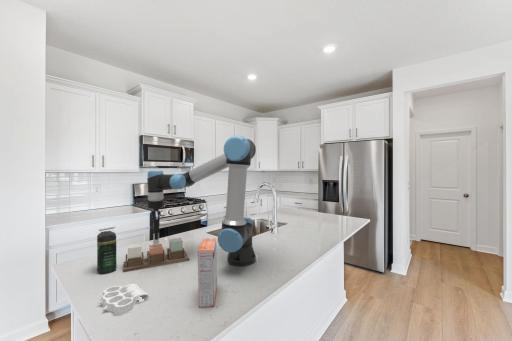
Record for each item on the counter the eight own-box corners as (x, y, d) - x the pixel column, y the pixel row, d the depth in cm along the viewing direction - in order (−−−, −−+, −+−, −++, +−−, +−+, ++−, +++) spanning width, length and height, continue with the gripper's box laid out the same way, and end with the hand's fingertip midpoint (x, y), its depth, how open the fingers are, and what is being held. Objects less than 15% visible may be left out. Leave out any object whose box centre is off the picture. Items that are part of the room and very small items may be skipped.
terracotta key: (162, 258, 124) (162, 247, 124) (150, 260, 122) (150, 248, 121) (161, 254, 130) (161, 243, 130) (149, 256, 127) (149, 245, 127)
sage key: (182, 251, 129) (182, 240, 129) (170, 253, 126) (170, 242, 126) (180, 248, 134) (180, 237, 134) (169, 250, 131) (169, 239, 131)
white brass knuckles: (152, 303, 89) (107, 322, 79) (133, 286, 102) (92, 301, 91) (152, 294, 89) (107, 312, 78) (133, 279, 101) (92, 292, 91)
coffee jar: (118, 271, 116) (117, 232, 115) (98, 275, 111) (97, 235, 110) (114, 264, 123) (114, 228, 123) (96, 268, 118) (95, 231, 118)
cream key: (141, 258, 120) (141, 246, 120) (127, 260, 117) (127, 248, 117) (141, 254, 125) (140, 243, 125) (128, 256, 122) (127, 244, 122)
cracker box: (202, 288, 100) (202, 238, 99) (217, 287, 100) (217, 237, 100) (197, 308, 86) (197, 250, 85) (214, 307, 86) (214, 249, 86)
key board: (189, 260, 129) (189, 250, 128) (123, 272, 114) (122, 260, 114) (185, 254, 137) (185, 244, 137) (123, 264, 123) (123, 253, 123)
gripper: (147, 199, 129) (147, 242, 130) (148, 202, 117) (149, 250, 118) (162, 198, 133) (162, 240, 133) (164, 201, 121) (165, 247, 121)
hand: (156, 245), depth 125 cm, fingers closed
